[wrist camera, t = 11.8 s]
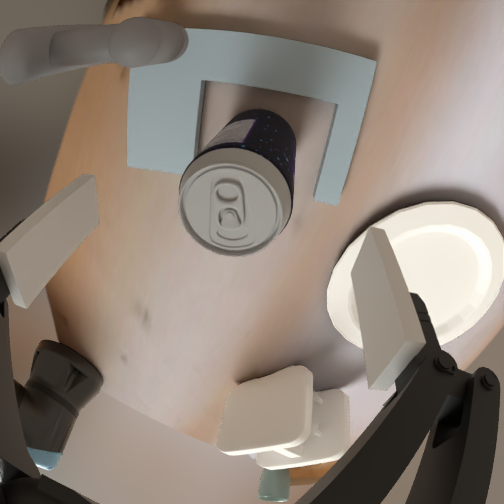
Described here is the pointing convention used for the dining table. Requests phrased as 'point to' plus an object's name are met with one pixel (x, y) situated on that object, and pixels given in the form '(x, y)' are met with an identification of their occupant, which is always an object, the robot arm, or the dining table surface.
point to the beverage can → (240, 185)
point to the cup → (274, 485)
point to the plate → (430, 266)
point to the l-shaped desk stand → (198, 82)
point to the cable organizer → (285, 421)
